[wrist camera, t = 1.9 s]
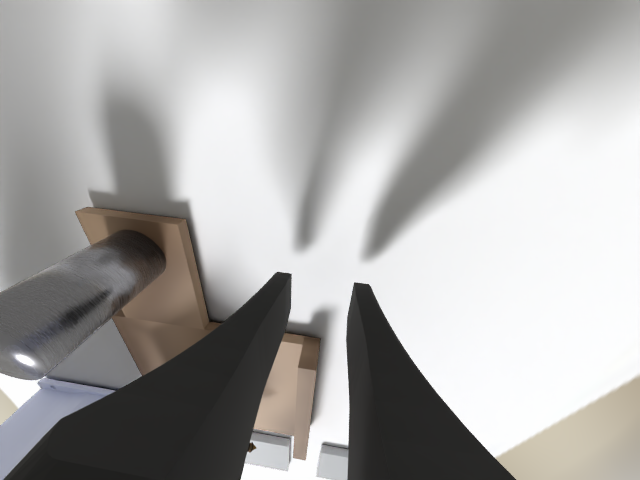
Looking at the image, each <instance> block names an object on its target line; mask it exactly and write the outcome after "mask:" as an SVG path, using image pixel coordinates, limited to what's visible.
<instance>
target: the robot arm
mask: <svg viewBox="0 0 640 480" xmlns="http://www.w3.org/2000/svg"><path fill="white" fill-rule="evenodd" d="M290 309H291V274H289V273H282V272H277V273H275V274H274V275H273V276H272V278H271V279H270V280H269V281H268V282H267V283H266V284H265V285H264V286H263V287H262V288H261V289H260V290H259V291H258V292H257V293H256V294H255V295H254V296H253V297H252V298H251V299H250V300H249V301H247V302H246V303H245V304H244V305H243V306H242V307H241V308H240V309H239V310H237V311H236V312H235V313H234V314H233V315H232V316H230V317H229V318H228V319H227V320H226V321H224V322H223V323H222V324H221V325H219V326H218V327H217V328H216V329H214V330H213V331H212V332H210V333H209V334H208V335H206V336H205V337H203V338H202V339H201V340H199V341H198V342H196V343H195V344H193V345H192V346H190V347H189V348H187V349H186V350H184V351H183V352H182V353H180V354H178V355H177V356H175V357H174V358H172V359H171V360H169V361H167V362H166V363H164V364H162V365H161V366H159V367H157V368H156V369H154V370H152V371H150V372H149V373H147V374H145V375H144V376H142V377H140V378H138V379H137V380H135V381H133V382H131V383H130V384H128V385H126V386H124V387H122V388H121V389H119V390H117V391H115V390H109V389H104V388H98V387H92V386H87V385H81V384H75V383H69V382H64V381H58V380H52V379H47V378H42V379H41V380H40V381H38V383H37V384H38V385H39V386H40V387H41V389H40V390H39V391H38V392H37V393H36V394H34V395H33V396H32V397H31V398H30V399H29V400H28V401H27V402H26V403H24V404H23V405H22V406H21V407H20V408H19V409H18V410H17V411H16V412H14V413H13V414H12V416H10V417H9V418H8V419H7V420H6V421H5V422H3V423H2V424H1V425H0V480H240V479H241V475H242V471H243V467H244V463H245V459H246V455H247V451H248V447H249V443H250V440H251V436H252V432H253V428H254V424H255V421H256V417H257V413H258V410H259V406H260V402H261V399H262V395H263V392H264V389H265V386H266V382H267V380H268V377H269V374H270V371H271V369H272V366H273V363H274V361H275V358H276V355H277V352H278V350H279V347H280V344H281V341H282V339H283V336H284V333H285V330H286V326H287V322H288V318H289V314H290ZM346 342H347V362H348V380H349V403H350V414H349V448H348V476H347V480H516V479H515V478H514V477H513V476H512V475H511V474H510V473H509V472H508V471H507V470H506V469H505V468H504V467H503V466H502V465H501V464H500V463H499V462H498V461H497V460H496V459H495V458H494V457H493V456H492V455H491V454H490V453H489V452H488V451H487V450H486V448H485V447H484V446H483V445H482V444H481V443H480V442H479V441H478V440H477V439H476V438H475V437H474V435H473V434H472V433H471V432H470V431H469V430H468V429H467V428H466V427H465V425H464V424H463V423H462V422H461V421H460V420H459V418H458V417H457V416H456V415H455V414H454V413H453V411H452V410H451V409H450V408H449V407H448V406H447V404H446V403H445V402H444V401H443V400H442V399H441V397H440V396H439V395H438V394H437V393H436V391H435V390H434V389H433V387H432V386H431V385H430V384H429V382H428V381H427V380H426V378H425V377H424V376H423V374H422V373H421V372H420V370H419V369H418V368H417V366H416V365H415V364H414V362H413V361H412V359H411V358H410V356H409V355H408V353H407V352H406V350H405V349H404V347H403V346H402V344H401V343H400V341H399V340H398V338H397V336H396V335H395V333H394V331H393V330H392V328H391V326H390V324H389V323H388V321H387V319H386V317H385V315H384V314H383V312H382V310H381V308H380V306H379V304H378V302H377V300H376V298H375V295H374V293H373V291H372V288H371V286H370V285H369V284H363V283H355V282H354V286H353V291H352V296H351V302H350V307H349V312H348V317H347V337H346Z"/></svg>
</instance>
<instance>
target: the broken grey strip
mask: <svg viewBox="0 0 640 480" xmlns="http://www.w3.org/2000/svg"><path fill="white" fill-rule="evenodd" d="M251 442H253V444H254V445H255V446H256V449H254V450H253V451H252V452H251V453H249V452H247V455H246V459H245V463H246V464H252V465H257V466H262V467H268V468H273V469H278V470H283V471H288V468H289V454H290V439H288V438H282V437H277V436H271V435H266V434H260V433H255V432H252V436H251V440H250V443H251ZM347 476H348V449H343V448H338V447H332V446H327V445H322V446H321V451H320V456H319V462H318V467H317V475H316V477H321V478H326V479H331V480H347Z"/></svg>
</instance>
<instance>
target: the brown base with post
mask: <svg viewBox="0 0 640 480" xmlns="http://www.w3.org/2000/svg"><path fill="white" fill-rule="evenodd" d="M75 213H76V215H77V217H78V219H79V221H80V223H81V226H82V228H83V230H84V232H85V234H86V236H87V238H88V240H89V242H90V244H91V245H90V246H88V247H87V248H85V249H83V250H81V251H79V252H77V253H75V254H73V255H71V256H69V257H67V258H65V259H64V260H62V261H60V262H58V263H56V264H54V265H52V266H50V267H48V268H46V269H44V270H43V271H41V272H39V273H37V274H35V275H33V276H31V277H29V278H27V279H25V280H23V281H21V282H20V283H18V284H16V285H14V286H12V287H10V288H8V289H6V290H4V291H2V292H0V373H2V374H5V375H8V376H11V377H15V378H19V379H25V380H38V379H41V378H43V377H44V376H45V375H46V374H47V373H49V372H50V371H51V370H52V369H53V368H54V367H55V366H57V365H58V364H59V363H60V362H61V361H62V360H64V359H65V358H66V357H67V356H68V355H69V354H70V353H72V352H73V351H74V350H75V349H76V348H77V347H78V346H80V345H81V344H82V343H83V342H84V341H85V340H86V339H88V338H89V337H90V336H91V335H92V334H93V333H95V332H96V331H97V330H98V329H99V328H100V327H101V326H103V325H104V324H105V323H106V322H107V321H108V320H109V319H111V318H112V319H113V321H114V323H115V325H116V327H117V329H118V331H119V333H120V334H121V336H122V338H123V340H124V342H125V344H126V346H127V348H128V350H129V352H130V354H131V355H132V357H133V359H134V361H135V363H136V365H137V367H138V369H139V371H140V373H141V375H142V376H144V375H145V374H147V373H149V372H150V371H152V370H154V369H156V368H157V367H159V366H161V365H162V364H164V363H166V362H167V361H169V360H171V359H172V358H174V357H175V356H177V355H178V354H180V353H182V352H183V351H184V350H186V349H187V348H189V347H190V346H192V345H193V344H195V343H196V342H198V341H199V340H201V339H202V338H203V337H205V336H206V335H208V334H209V333H210V332H212V331H213V330H214V329H216V328H217V327H218V326H219V325H221V324H222V323H215V322H209V318H208V314H207V310H206V305H205V301H204V296H203V292H202V288H201V283H200V279H199V275H198V270H197V266H196V261H195V257H194V253H193V248H192V244H191V240H190V235H189V231H188V226H187V222H186V219H180V218H172V217H164V216H156V215H148V214H140V213H132V212H124V211H116V210H108V209H100V208H92V207H86V208H83V209H81V210H78V211H75ZM320 340H321V338H314V337H308V336H301V335H294V334H288V333H284V336H283V339H282V341H281V344H280V347H279V350H278V352H277V355H276V358H275V361H274V363H273V366H272V369H271V371H270V374H269V377H268V380H267V382H266V386H265V389H264V392H263V395H262V399H261V402H260V406H259V410H258V413H257V417H256V421H255V424H254V428H253V429H258V430H264V431H270V432H275V433H281V434H286V435H292V436H294V450H293V458H296V459H301V460H306V453H307V446H308V438H309V430H310V422H311V414H312V406H313V397H314V389H315V381H316V373H317V365H318V357H319V348H320Z"/></svg>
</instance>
